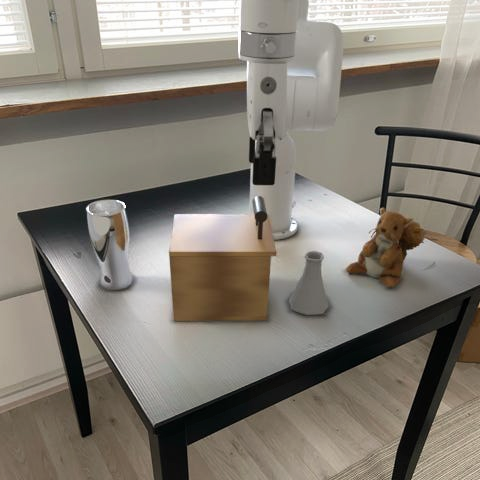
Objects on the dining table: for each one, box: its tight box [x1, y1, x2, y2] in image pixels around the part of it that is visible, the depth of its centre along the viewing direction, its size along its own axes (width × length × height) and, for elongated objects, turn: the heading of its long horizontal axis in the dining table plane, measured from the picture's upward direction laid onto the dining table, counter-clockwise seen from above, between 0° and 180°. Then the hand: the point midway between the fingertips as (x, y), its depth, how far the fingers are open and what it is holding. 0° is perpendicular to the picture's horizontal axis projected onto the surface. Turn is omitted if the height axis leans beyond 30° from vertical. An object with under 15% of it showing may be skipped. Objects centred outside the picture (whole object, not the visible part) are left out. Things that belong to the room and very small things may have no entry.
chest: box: [168, 255, 272, 322], centre depth 86 cm, size 16×14×12 cm
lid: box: [168, 196, 278, 257], centre depth 81 cm, size 17×14×6 cm
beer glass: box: [85, 199, 134, 291], centre depth 89 cm, size 7×7×15 cm
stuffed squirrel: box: [345, 207, 426, 289], centre depth 95 cm, size 10×14×13 cm
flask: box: [288, 250, 330, 316], centre depth 86 cm, size 7×7×10 cm
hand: (260, 172), depth 76 cm, fingers open, 9 cm apart
